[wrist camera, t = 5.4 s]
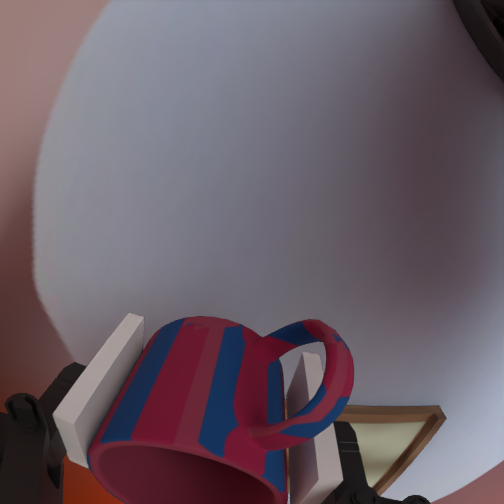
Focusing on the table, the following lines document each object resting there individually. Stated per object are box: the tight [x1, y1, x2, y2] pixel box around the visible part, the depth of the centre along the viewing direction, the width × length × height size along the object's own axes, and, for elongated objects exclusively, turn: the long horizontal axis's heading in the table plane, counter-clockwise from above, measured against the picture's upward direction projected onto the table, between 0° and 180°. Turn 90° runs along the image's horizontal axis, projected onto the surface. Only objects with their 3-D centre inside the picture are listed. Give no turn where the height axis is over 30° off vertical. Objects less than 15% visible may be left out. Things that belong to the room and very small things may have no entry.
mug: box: [87, 316, 354, 504], centre depth 10 cm, size 7×10×7 cm
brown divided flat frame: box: [284, 400, 447, 496], centre depth 22 cm, size 15×23×3 cm, turn 78°
